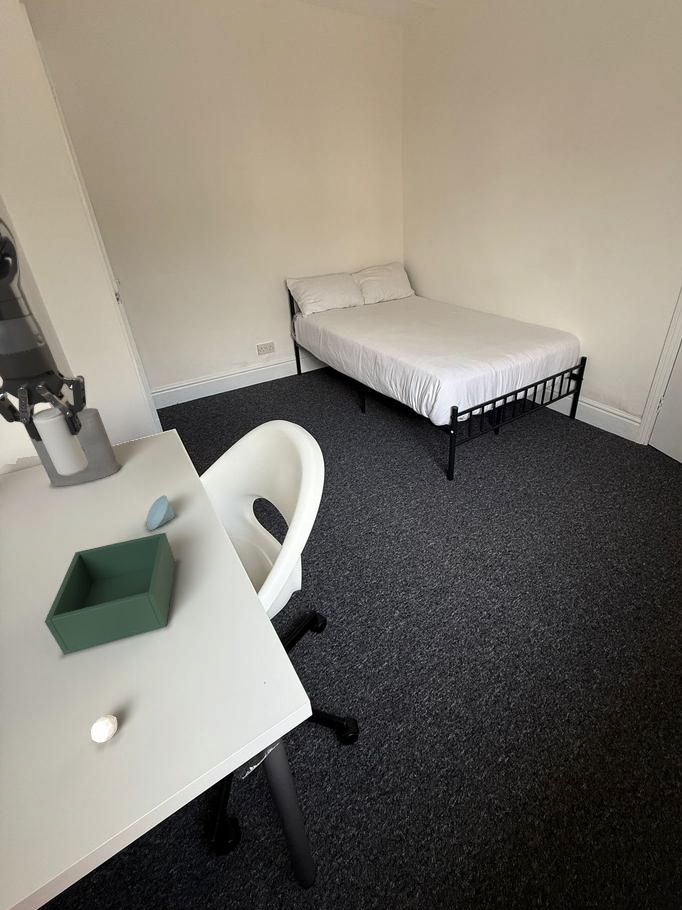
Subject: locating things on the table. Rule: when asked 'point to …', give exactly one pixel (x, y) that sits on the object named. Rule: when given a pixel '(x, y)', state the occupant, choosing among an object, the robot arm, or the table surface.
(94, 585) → the bin
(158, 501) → the gemstone
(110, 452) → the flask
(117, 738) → the table surface
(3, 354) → the robot arm
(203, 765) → the table surface
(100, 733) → the polyhedron
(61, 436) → the beverage can
